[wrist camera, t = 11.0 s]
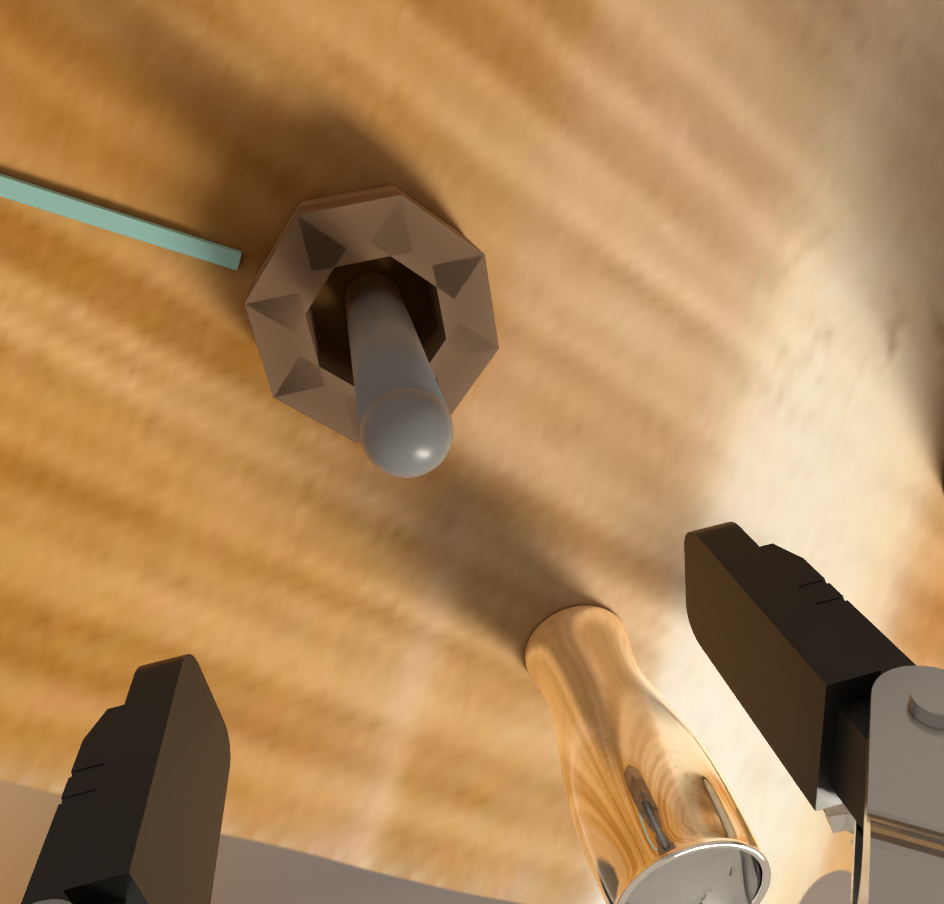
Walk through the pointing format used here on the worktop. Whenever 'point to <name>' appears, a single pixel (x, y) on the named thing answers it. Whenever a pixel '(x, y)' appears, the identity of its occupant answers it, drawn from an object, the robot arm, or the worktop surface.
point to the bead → (351, 241)
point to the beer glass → (638, 774)
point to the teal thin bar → (118, 222)
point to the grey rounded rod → (394, 382)
